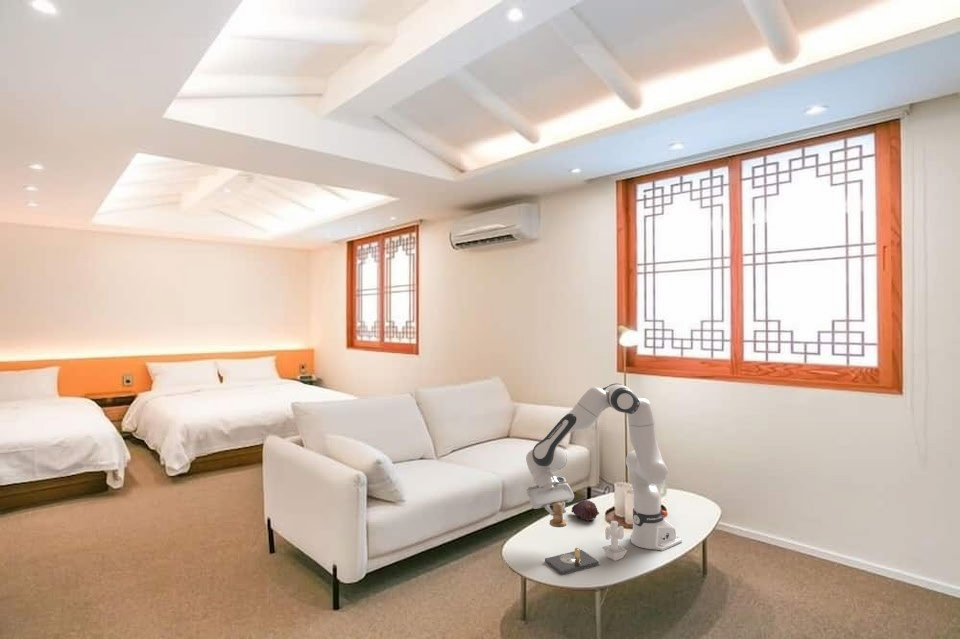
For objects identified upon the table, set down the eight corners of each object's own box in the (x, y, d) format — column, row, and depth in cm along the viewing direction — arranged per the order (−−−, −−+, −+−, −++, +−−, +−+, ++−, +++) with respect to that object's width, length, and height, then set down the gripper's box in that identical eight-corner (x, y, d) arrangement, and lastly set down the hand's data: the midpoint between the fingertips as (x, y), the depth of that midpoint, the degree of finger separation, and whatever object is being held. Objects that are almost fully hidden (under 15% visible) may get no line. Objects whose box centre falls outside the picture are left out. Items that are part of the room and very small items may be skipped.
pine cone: (564, 516, 265) (567, 496, 270) (578, 523, 269) (581, 503, 274) (590, 517, 251) (593, 496, 256) (604, 524, 255) (607, 503, 260)
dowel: (578, 562, 213) (577, 547, 213) (581, 564, 211) (580, 549, 211) (573, 563, 212) (573, 548, 212) (576, 565, 210) (576, 550, 210)
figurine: (613, 551, 226) (612, 516, 226) (629, 559, 218) (628, 523, 217) (600, 555, 222) (599, 519, 222) (616, 564, 214) (615, 527, 214)
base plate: (581, 553, 224) (581, 549, 224) (599, 565, 214) (598, 561, 213) (545, 562, 217) (544, 558, 217) (561, 574, 206) (561, 570, 206)
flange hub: (560, 519, 229) (560, 500, 229) (569, 525, 222) (569, 505, 222) (546, 522, 226) (546, 502, 226) (555, 528, 219) (555, 508, 219)
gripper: (527, 484, 226) (540, 514, 217) (568, 477, 234) (581, 506, 226) (522, 491, 230) (534, 521, 221) (562, 484, 239) (575, 513, 230)
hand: (558, 513), depth 224 cm, fingers closed on flange hub, 4 cm apart
